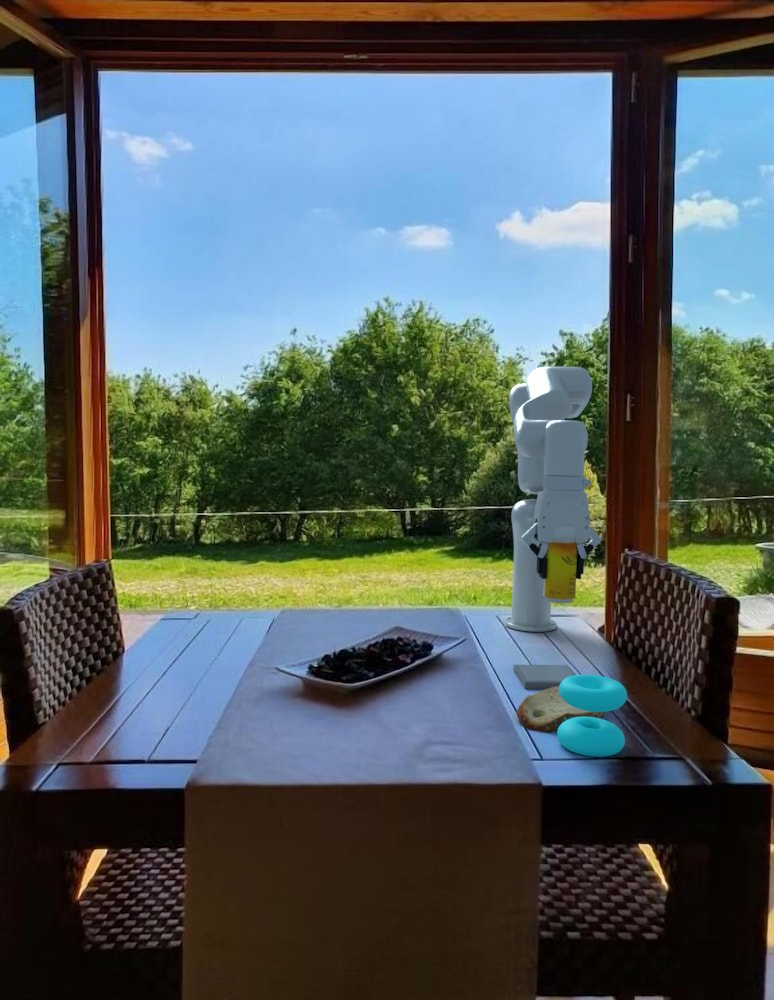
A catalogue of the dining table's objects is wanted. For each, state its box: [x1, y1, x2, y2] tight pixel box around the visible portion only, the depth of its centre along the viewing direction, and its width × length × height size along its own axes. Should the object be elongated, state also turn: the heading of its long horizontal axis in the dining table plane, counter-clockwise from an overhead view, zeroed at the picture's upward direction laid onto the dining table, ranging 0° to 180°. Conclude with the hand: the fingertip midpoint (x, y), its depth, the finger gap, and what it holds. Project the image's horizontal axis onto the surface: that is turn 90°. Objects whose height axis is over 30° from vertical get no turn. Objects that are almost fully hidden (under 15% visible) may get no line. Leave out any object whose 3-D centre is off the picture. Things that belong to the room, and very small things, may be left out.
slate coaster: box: [512, 664, 577, 690], centre depth 149 cm, size 11×11×1 cm
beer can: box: [543, 525, 577, 604], centre depth 148 cm, size 6×6×15 cm
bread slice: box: [516, 686, 606, 734], centre depth 131 cm, size 18×18×4 cm
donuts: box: [556, 674, 628, 758], centre depth 117 cm, size 10×10×10 cm
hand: (559, 576), depth 148 cm, fingers closed on beer can, 6 cm apart
